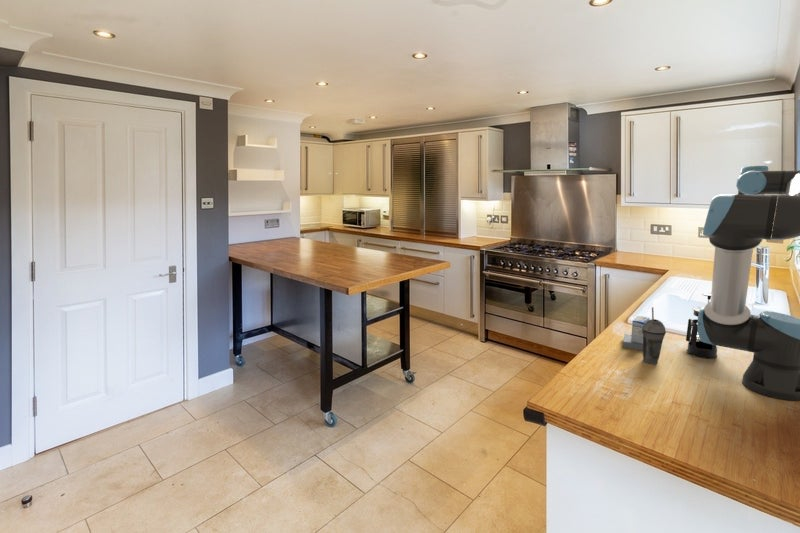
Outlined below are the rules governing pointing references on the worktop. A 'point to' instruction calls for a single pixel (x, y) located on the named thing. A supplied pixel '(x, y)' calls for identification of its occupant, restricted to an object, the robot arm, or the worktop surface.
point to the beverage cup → (652, 339)
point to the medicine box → (638, 329)
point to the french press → (695, 343)
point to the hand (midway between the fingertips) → (739, 269)
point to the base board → (631, 343)
